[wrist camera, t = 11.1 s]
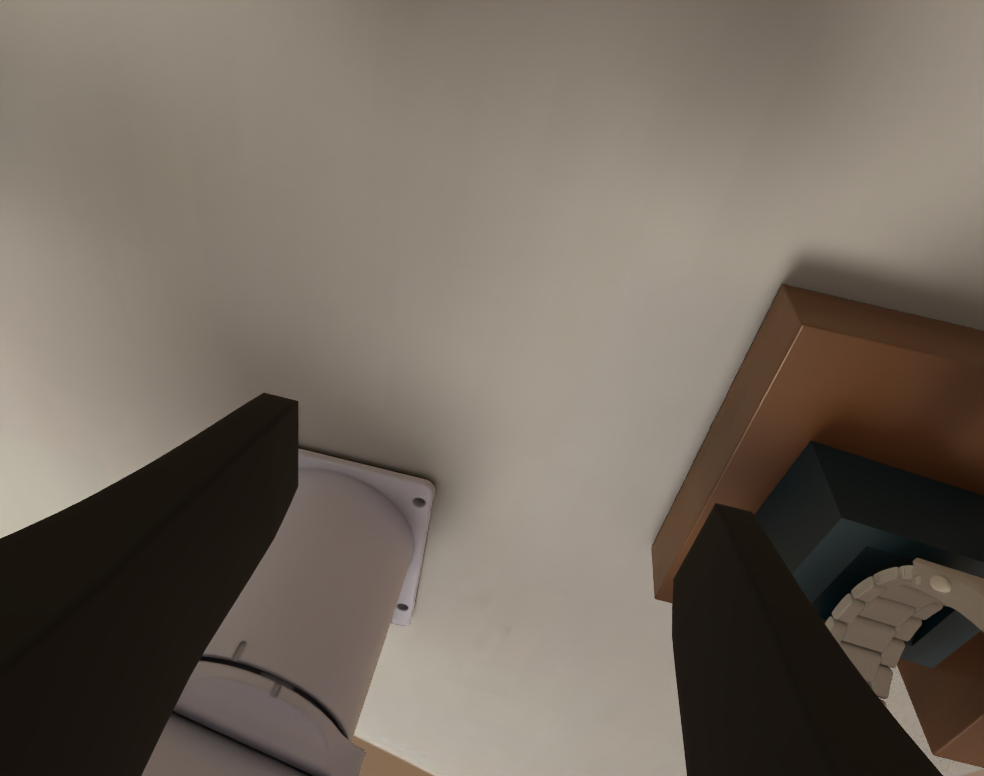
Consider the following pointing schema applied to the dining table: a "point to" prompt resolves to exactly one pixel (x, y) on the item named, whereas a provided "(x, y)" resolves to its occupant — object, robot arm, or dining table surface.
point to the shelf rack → (850, 448)
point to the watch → (881, 557)
